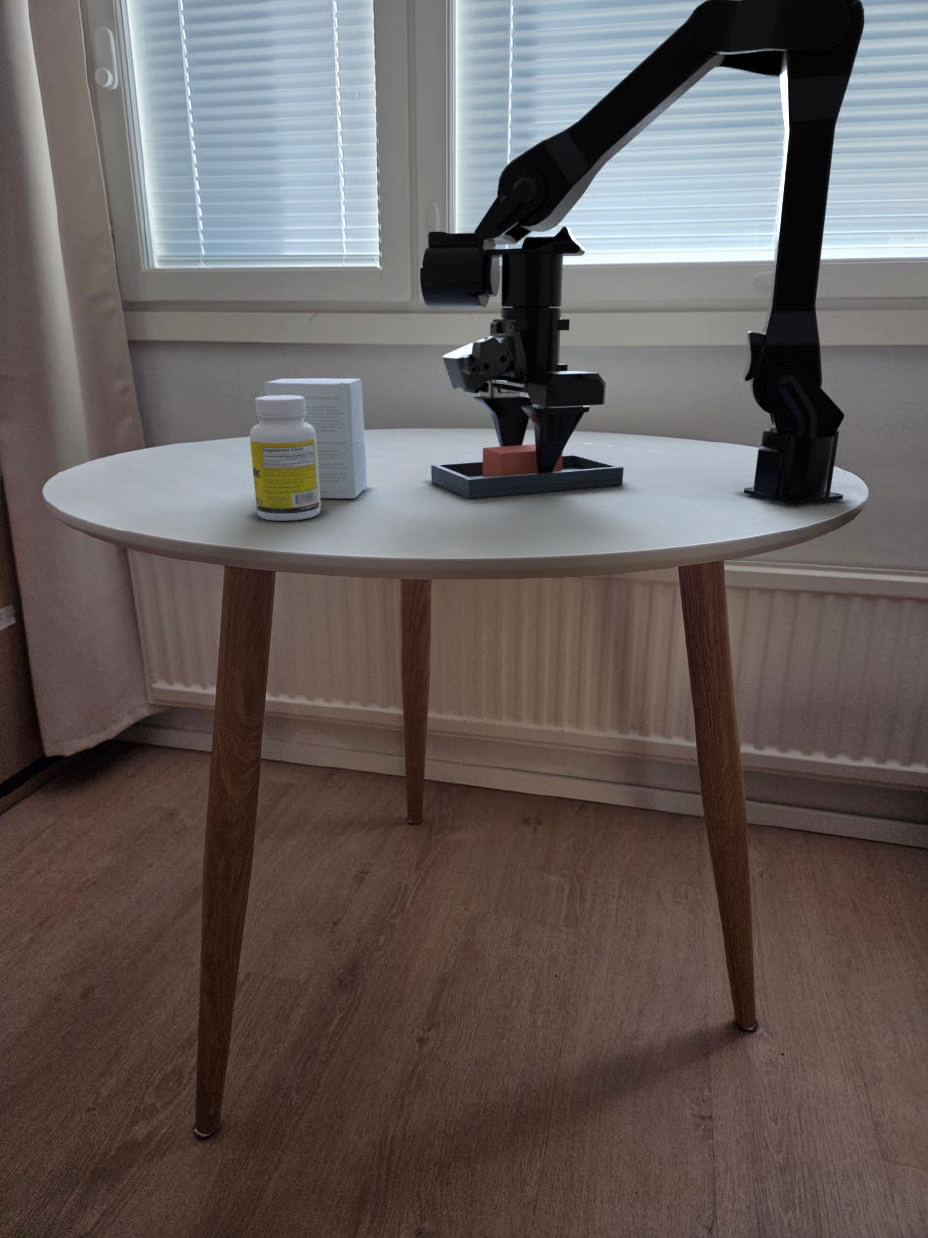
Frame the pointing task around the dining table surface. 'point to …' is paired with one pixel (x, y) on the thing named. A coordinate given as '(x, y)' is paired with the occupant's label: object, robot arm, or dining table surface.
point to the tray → (526, 478)
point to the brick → (512, 461)
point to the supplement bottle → (284, 460)
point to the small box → (332, 430)
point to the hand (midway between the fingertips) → (526, 471)
